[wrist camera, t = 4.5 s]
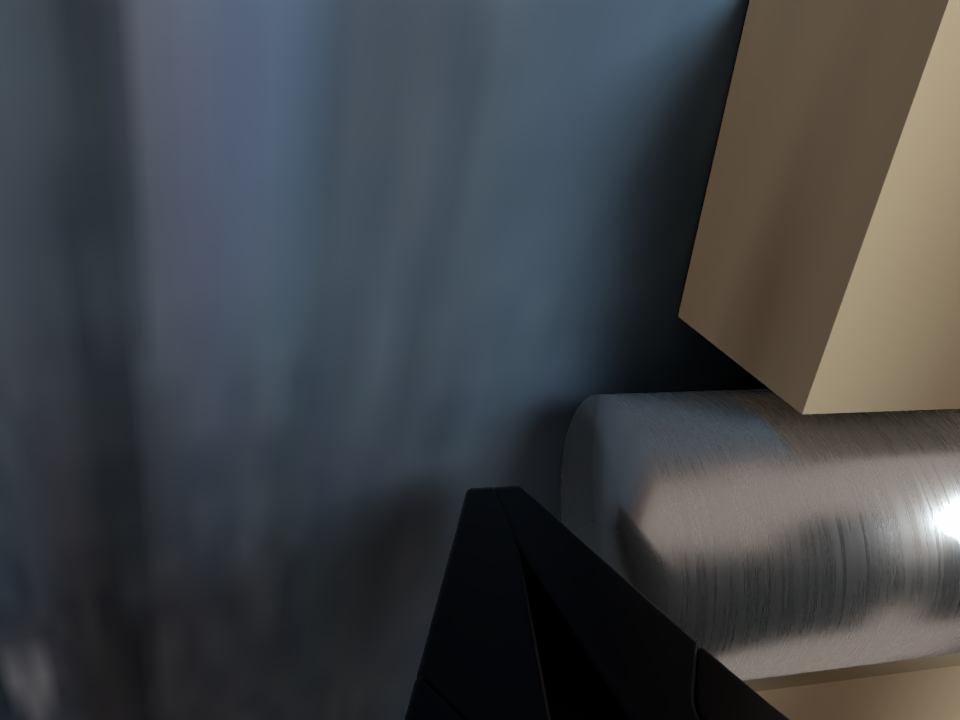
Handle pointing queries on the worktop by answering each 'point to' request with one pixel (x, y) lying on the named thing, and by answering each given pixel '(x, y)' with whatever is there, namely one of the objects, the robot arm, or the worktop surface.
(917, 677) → the beam
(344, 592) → the worktop surface
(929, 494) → the light grey bar
